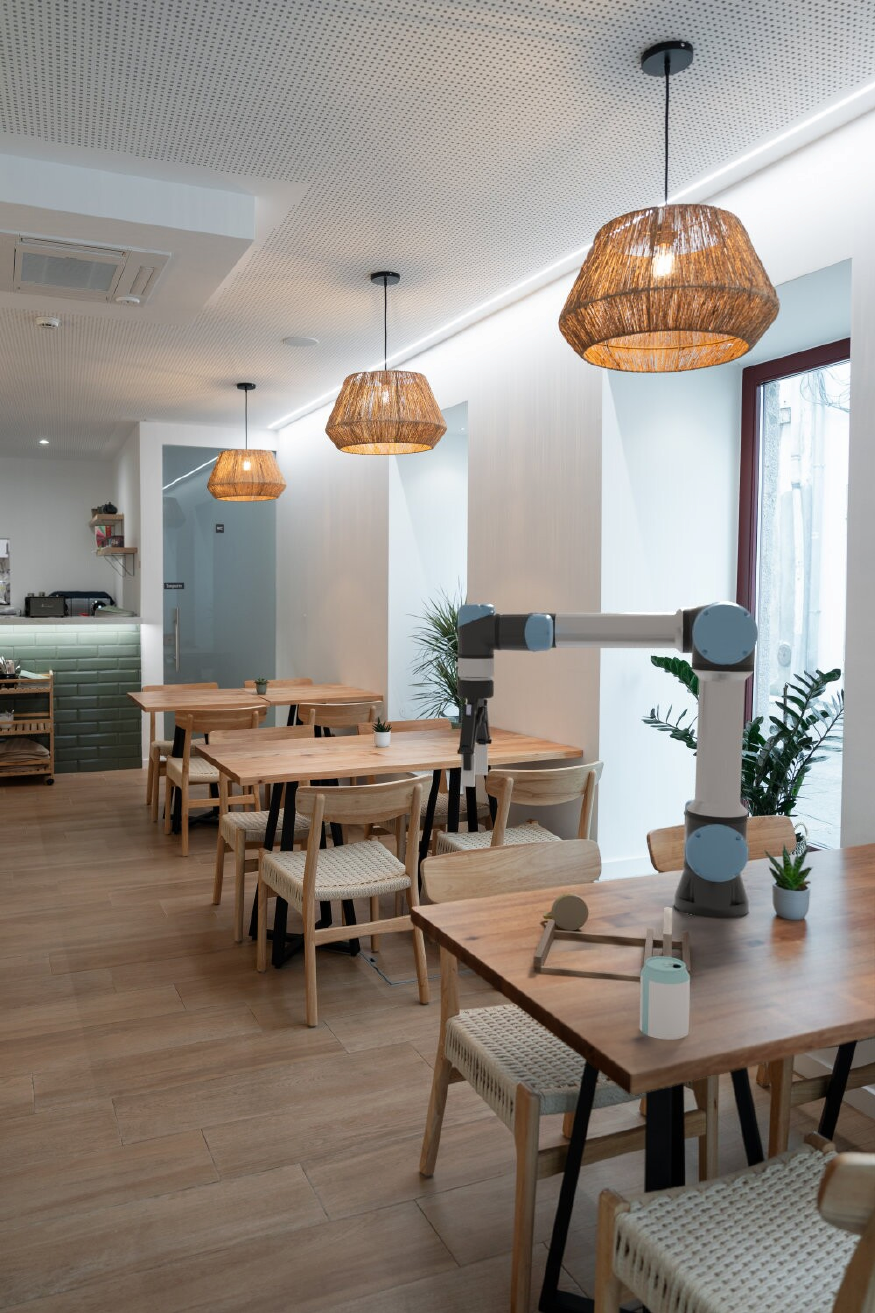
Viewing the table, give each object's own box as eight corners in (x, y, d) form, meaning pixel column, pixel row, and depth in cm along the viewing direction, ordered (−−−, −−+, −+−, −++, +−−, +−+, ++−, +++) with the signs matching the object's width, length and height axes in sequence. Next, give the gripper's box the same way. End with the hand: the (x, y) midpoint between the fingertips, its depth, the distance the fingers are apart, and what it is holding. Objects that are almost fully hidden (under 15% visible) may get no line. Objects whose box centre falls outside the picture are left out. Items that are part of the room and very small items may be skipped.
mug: (578, 914, 203) (594, 882, 197) (574, 951, 195) (591, 919, 189) (543, 902, 203) (559, 870, 197) (538, 939, 195) (554, 907, 189)
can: (668, 1029, 150) (670, 951, 149) (698, 1049, 143) (700, 967, 143) (629, 1037, 147) (631, 958, 146) (658, 1057, 140) (659, 974, 140)
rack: (688, 951, 183) (689, 905, 182) (690, 993, 163) (691, 941, 163) (548, 939, 189) (548, 894, 188) (533, 978, 170) (534, 928, 169)
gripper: (470, 674, 217) (469, 769, 219) (444, 682, 193) (443, 790, 194) (503, 674, 216) (502, 771, 217) (481, 683, 191) (480, 792, 193)
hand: (474, 780), depth 206 cm, fingers open, 13 cm apart
